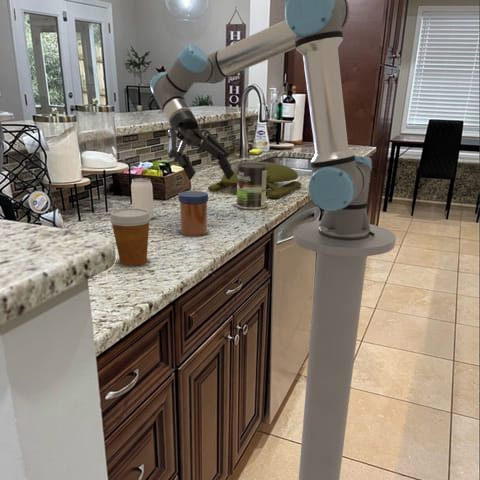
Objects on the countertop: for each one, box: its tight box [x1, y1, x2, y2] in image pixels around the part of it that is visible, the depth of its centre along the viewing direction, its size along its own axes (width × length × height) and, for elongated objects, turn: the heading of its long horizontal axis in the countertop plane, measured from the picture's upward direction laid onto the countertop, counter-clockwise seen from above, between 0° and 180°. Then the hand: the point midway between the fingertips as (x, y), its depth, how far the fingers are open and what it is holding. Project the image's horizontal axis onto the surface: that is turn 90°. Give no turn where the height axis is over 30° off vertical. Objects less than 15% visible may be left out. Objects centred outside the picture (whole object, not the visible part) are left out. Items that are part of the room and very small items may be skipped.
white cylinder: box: [130, 177, 155, 220], centre depth 157 cm, size 6×6×12 cm
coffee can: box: [236, 162, 267, 210], centre depth 174 cm, size 10×10×14 cm
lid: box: [177, 190, 209, 204], centre depth 141 cm, size 8×8×2 cm
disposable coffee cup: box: [108, 207, 152, 267], centre depth 118 cm, size 10×10×12 cm
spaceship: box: [207, 161, 303, 199], centre depth 205 cm, size 35×31×10 cm
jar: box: [179, 201, 208, 237], centre depth 143 cm, size 8×8×11 cm
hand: (212, 176), depth 138 cm, fingers open, 13 cm apart
